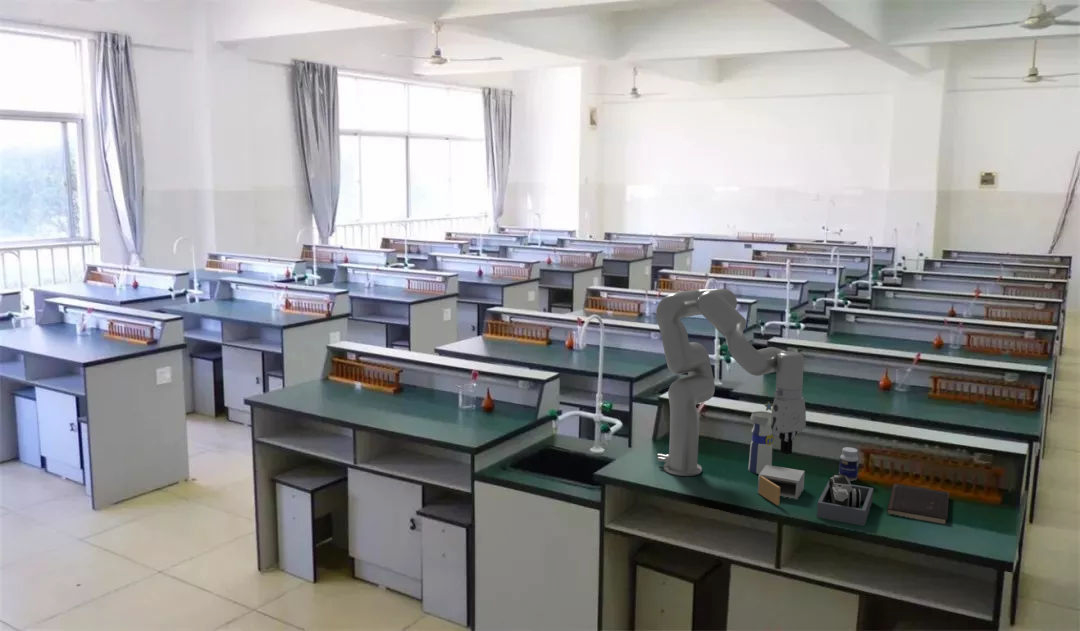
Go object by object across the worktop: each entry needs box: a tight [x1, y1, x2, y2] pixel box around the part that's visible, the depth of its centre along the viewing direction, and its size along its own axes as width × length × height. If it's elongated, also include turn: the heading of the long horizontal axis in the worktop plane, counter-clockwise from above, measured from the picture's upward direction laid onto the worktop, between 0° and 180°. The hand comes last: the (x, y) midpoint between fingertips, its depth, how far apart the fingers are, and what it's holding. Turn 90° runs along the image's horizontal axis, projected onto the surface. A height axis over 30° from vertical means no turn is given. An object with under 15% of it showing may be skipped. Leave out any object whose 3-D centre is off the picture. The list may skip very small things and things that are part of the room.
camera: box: [828, 474, 862, 509], centre depth 249 cm, size 16×9×10 cm, turn 168°
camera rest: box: [816, 480, 874, 527], centre depth 250 cm, size 13×20×4 cm, turn 152°
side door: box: [757, 474, 781, 506], centre depth 257 cm, size 11×1×6 cm, turn 18°
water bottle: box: [747, 401, 775, 475], centre depth 281 cm, size 8×9×25 cm
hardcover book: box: [886, 483, 950, 525], centre depth 254 cm, size 16×23×2 cm
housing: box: [758, 464, 806, 500], centre depth 264 cm, size 12×10×6 cm
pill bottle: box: [838, 446, 860, 482], centre depth 275 cm, size 6×6×10 cm
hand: (786, 452), depth 253 cm, fingers closed
